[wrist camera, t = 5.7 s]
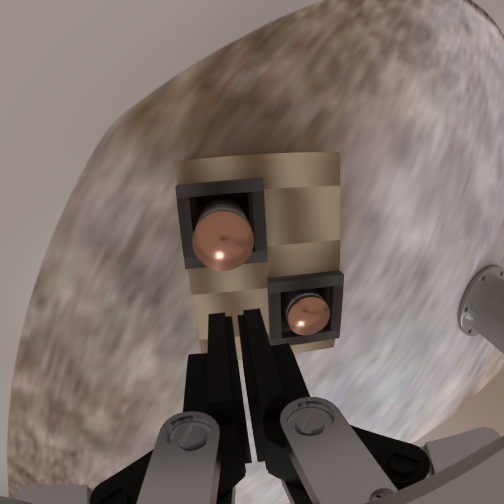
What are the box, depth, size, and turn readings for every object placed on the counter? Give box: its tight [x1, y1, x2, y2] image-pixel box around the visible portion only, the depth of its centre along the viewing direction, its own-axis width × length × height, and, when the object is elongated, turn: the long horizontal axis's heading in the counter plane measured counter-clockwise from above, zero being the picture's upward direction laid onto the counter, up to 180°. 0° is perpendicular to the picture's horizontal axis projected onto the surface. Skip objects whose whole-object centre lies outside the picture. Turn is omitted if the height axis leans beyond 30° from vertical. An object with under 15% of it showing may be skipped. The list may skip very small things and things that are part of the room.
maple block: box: [176, 152, 344, 360], centre depth 29 cm, size 14×20×6 cm
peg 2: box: [281, 288, 330, 335], centre depth 30 cm, size 4×4×7 cm
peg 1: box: [192, 198, 254, 271], centre depth 23 cm, size 4×4×7 cm
